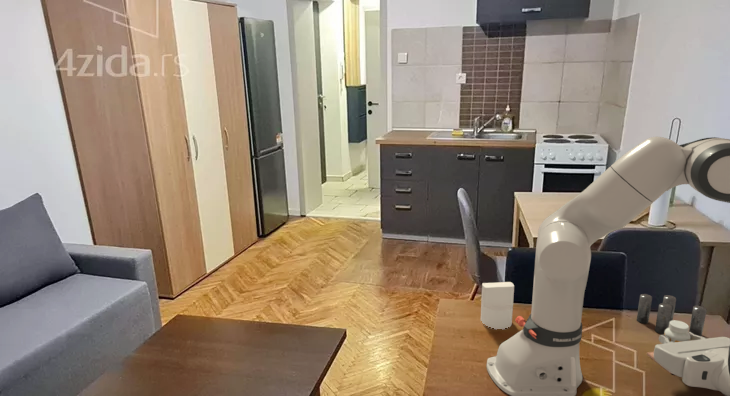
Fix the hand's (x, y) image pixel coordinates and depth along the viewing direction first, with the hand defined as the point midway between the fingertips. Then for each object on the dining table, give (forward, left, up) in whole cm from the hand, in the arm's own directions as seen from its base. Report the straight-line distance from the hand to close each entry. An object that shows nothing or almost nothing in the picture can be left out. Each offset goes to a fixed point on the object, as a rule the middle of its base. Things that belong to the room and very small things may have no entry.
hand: (673, 335), depth 115 cm
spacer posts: (+12, +14, -7) cm, 19 cm away
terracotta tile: (0, -1, -7) cm, 7 cm away
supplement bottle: (0, -1, -6) cm, 6 cm away
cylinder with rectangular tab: (-35, +26, -7) cm, 44 cm away
